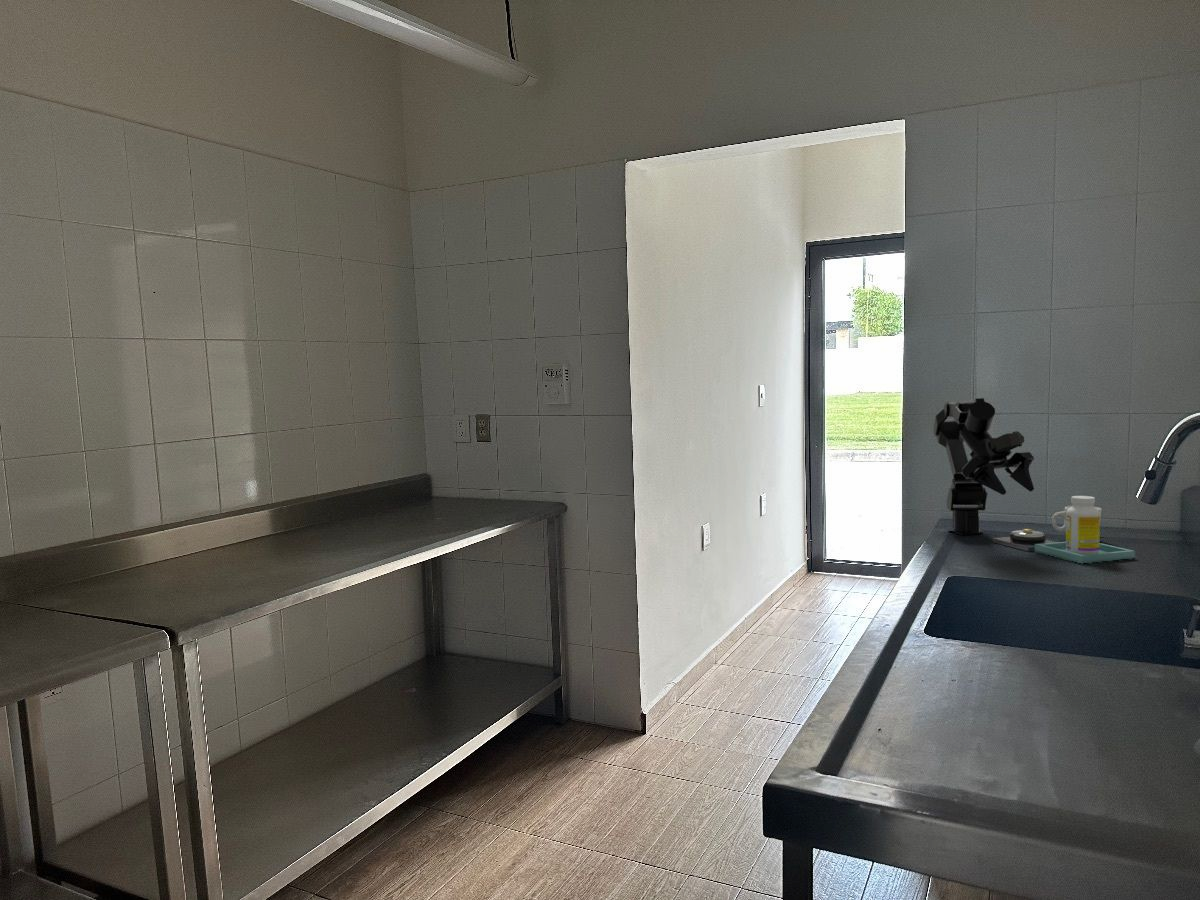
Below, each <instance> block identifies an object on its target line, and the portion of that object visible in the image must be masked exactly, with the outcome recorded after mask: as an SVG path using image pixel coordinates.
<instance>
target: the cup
mask: <svg viewBox="0 0 1200 900" xmlns="http://www.w3.org/2000/svg"><path fill="white" fill-rule="evenodd" d="M1070 507H1072V505H1067V506H1065V507H1064V510H1063V511H1058V512H1055V513H1054V514H1053V515H1052V518H1051V524H1052V526H1053V528H1054V529H1055V530H1057V531H1060V532H1066V511H1067V510H1068V509H1069V508H1070ZM1094 508H1096V509H1097V510H1098V511H1099V512H1100V521H1101V517H1102V513H1103V512H1102V511H1103V509H1102V508H1101V507H1097V506H1094ZM1059 517H1062V518H1063V519H1064V520H1063V521H1064V524H1063V525H1062V526H1058V524H1057V518H1059Z"/></svg>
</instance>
